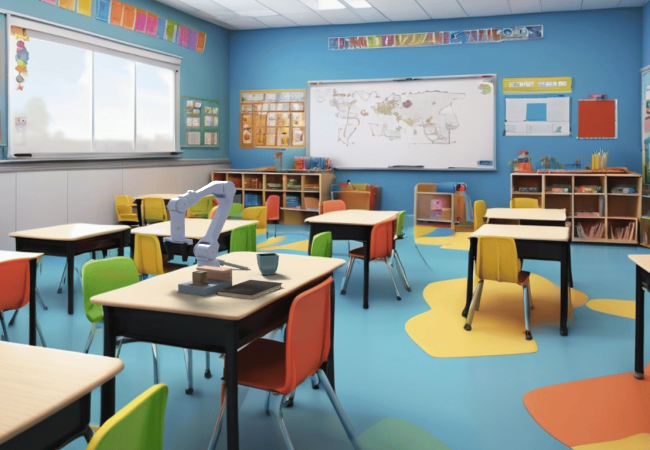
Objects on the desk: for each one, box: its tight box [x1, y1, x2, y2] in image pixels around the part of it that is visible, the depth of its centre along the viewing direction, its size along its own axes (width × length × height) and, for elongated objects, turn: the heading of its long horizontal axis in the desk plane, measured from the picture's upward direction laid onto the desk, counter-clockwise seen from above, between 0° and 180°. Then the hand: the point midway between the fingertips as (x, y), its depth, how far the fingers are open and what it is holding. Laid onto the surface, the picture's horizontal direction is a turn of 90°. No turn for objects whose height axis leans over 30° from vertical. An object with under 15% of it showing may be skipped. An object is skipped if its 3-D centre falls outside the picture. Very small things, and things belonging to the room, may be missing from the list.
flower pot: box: [256, 252, 280, 276], centre depth 271 cm, size 9×9×9 cm
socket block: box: [177, 278, 233, 297], centre depth 239 cm, size 16×14×3 cm
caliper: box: [216, 258, 251, 271], centre depth 284 cm, size 20×1×6 cm, turn 76°
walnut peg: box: [191, 270, 207, 286], centre depth 236 cm, size 4×4×8 cm
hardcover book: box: [216, 279, 283, 300], centre depth 238 cm, size 16×23×2 cm
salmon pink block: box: [195, 265, 233, 282], centre depth 243 cm, size 6×14×5 cm, turn 59°
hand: (177, 260), depth 246 cm, fingers open, 7 cm apart
